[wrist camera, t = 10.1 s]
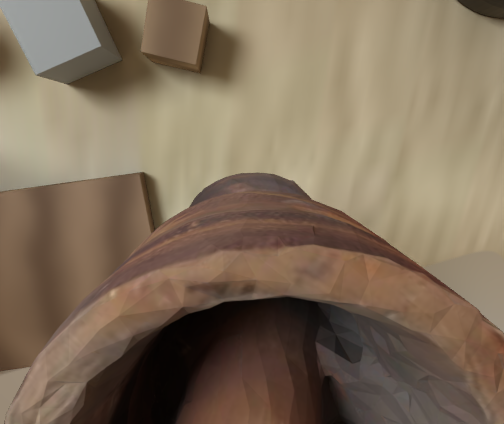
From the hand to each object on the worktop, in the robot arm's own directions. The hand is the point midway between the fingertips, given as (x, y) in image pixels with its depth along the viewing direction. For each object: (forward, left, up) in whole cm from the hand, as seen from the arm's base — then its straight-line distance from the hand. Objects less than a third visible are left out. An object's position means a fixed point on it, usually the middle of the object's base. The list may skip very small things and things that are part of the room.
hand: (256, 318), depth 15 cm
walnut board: (+17, +3, -19) cm, 26 cm away
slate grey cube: (+11, -16, -19) cm, 27 cm away
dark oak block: (+3, -15, -19) cm, 25 cm away
